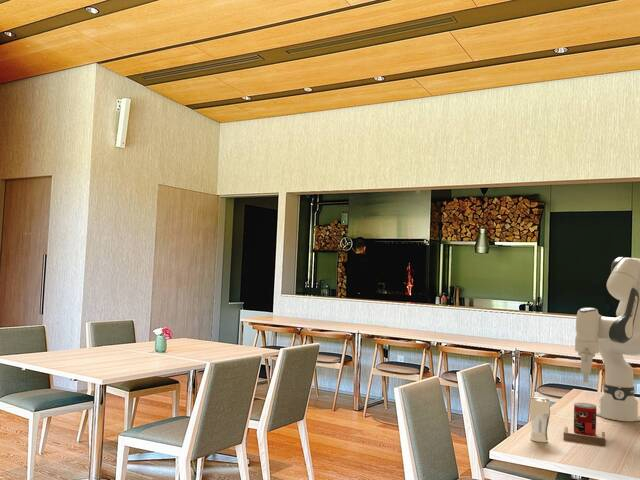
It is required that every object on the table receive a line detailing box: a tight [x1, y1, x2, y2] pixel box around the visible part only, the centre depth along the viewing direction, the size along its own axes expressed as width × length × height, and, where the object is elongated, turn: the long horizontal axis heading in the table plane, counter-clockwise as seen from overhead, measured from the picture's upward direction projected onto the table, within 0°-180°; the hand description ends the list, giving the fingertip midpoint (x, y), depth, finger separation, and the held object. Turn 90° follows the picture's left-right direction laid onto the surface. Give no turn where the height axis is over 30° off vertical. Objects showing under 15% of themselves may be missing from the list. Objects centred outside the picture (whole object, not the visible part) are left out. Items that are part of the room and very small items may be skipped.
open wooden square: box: [563, 426, 606, 447], centre depth 225 cm, size 10×14×2 cm
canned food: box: [573, 402, 597, 436], centre depth 234 cm, size 8×8×11 cm
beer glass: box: [529, 396, 551, 444], centre depth 220 cm, size 7×7×15 cm
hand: (585, 382), depth 243 cm, fingers closed
